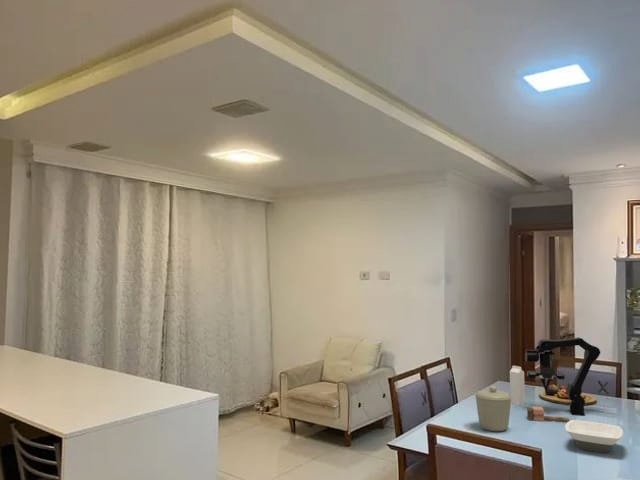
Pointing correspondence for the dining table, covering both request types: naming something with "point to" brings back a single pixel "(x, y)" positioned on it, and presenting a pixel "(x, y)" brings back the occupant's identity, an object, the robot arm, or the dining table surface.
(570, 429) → the bowl
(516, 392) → the milk
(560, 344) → the robot arm
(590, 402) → the wooden plate with food
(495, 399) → the canister
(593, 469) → the dining table surface
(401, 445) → the dining table surface
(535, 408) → the block
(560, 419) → the rail
